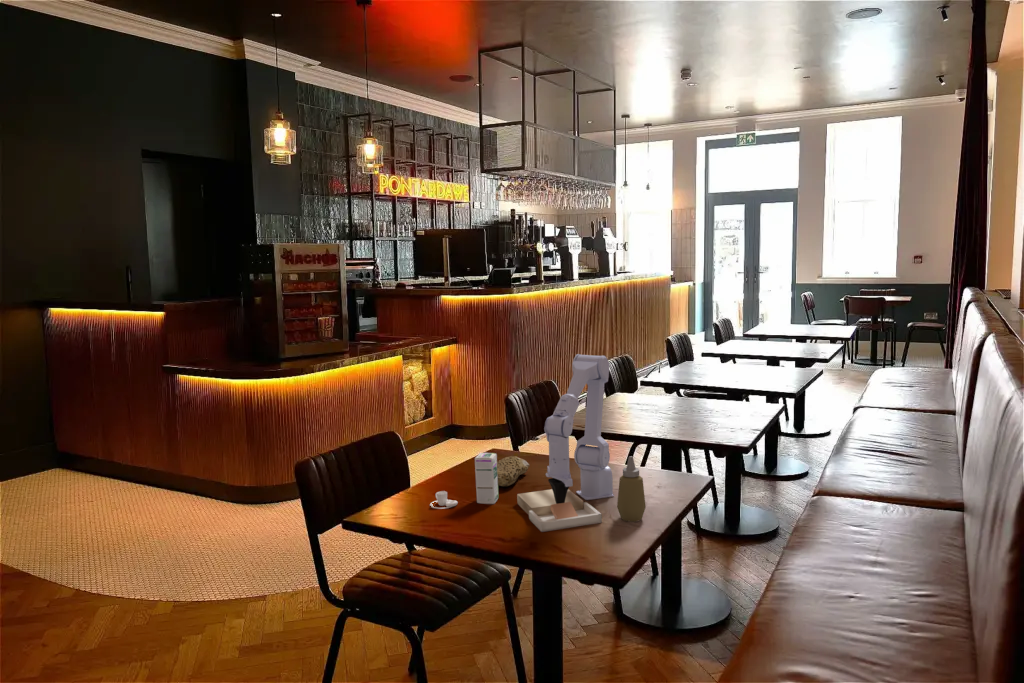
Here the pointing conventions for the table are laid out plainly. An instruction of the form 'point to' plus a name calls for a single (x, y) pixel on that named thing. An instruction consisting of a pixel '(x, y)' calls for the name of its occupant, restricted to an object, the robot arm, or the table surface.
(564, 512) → the tile
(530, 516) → the tray
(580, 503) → the platform
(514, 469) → the sponge
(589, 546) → the table surface
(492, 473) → the syrup box
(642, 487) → the squeeze bottle
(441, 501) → the teacup and saucer
